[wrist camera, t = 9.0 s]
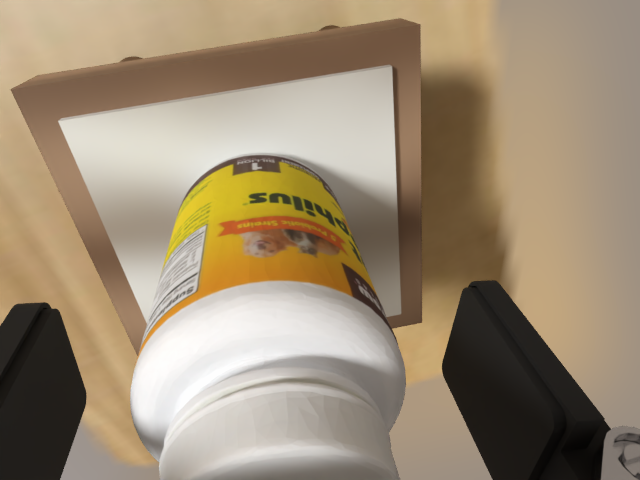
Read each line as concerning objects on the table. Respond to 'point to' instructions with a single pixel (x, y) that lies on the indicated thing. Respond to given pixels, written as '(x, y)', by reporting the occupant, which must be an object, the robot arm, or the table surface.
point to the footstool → (239, 147)
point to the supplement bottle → (266, 337)
